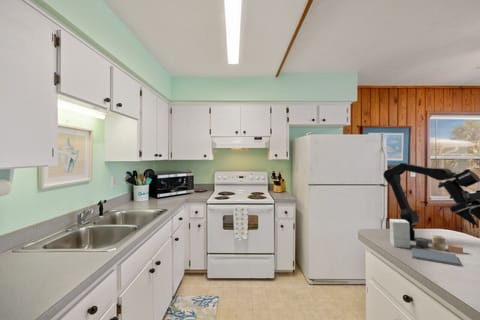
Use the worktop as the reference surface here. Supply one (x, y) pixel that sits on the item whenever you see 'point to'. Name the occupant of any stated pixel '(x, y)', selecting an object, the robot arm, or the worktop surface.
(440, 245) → the beech block
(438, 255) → the slate board
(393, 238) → the supplement box
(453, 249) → the terracotta tile
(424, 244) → the smooth grey pebble
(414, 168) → the robot arm
